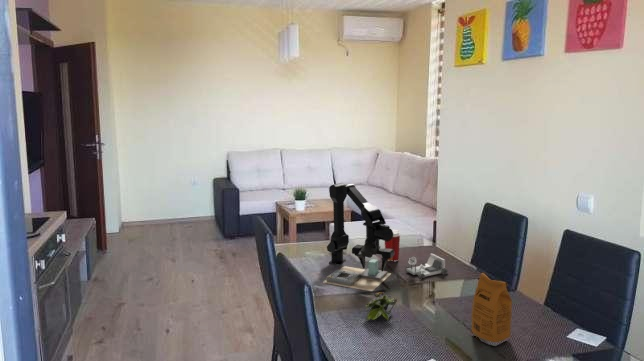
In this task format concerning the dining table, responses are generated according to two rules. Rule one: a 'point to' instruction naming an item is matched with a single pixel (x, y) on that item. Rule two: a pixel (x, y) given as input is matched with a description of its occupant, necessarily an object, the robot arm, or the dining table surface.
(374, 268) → the plug
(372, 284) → the patch board
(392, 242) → the coffee cup
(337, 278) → the port block
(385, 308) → the green leafy plant
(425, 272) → the toy car
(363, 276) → the gray square frame
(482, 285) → the coffee package
